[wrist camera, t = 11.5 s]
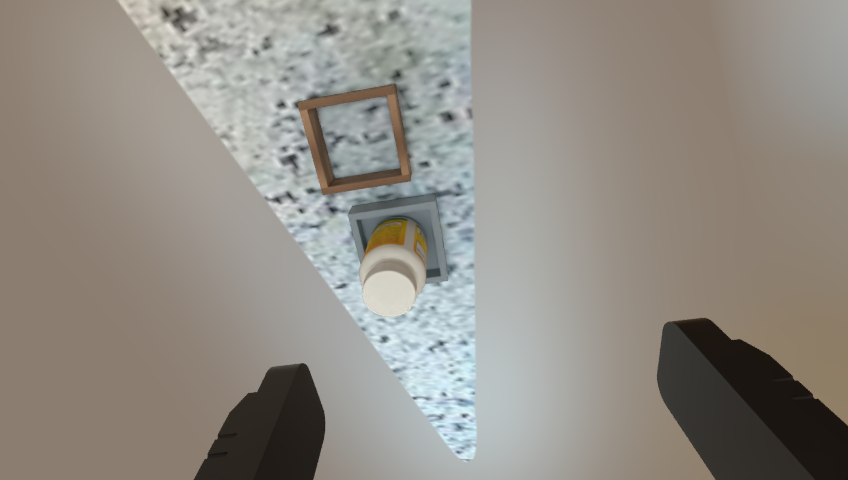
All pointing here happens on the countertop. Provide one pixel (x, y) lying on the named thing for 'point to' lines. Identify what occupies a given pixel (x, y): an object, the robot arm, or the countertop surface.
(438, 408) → the countertop surface
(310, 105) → the wooden square frame
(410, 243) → the supplement bottle
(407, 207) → the tray
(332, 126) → the countertop surface
